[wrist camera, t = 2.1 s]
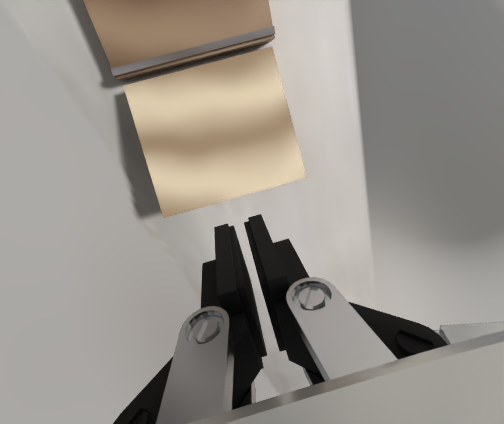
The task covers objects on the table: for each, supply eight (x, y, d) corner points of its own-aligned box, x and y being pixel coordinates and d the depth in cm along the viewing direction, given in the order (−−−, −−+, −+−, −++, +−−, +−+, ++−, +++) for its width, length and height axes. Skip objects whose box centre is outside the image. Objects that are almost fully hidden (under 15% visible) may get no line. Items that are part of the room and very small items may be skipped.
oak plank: (130, 93, 23) (123, 85, 21) (270, 56, 23) (272, 46, 22) (168, 216, 23) (163, 218, 22) (302, 178, 24) (306, 177, 22)
